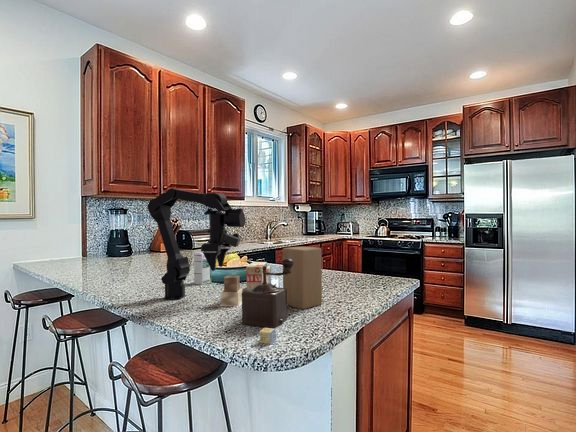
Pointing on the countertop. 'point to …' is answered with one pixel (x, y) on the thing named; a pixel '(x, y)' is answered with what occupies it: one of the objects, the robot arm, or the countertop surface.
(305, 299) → the wooden block
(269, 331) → the alphabet block
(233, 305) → the building mat
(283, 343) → the countertop surface
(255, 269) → the stack of blocks
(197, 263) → the syrup box
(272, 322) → the manual coffee grinder
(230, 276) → the brown block
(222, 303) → the maple base block
